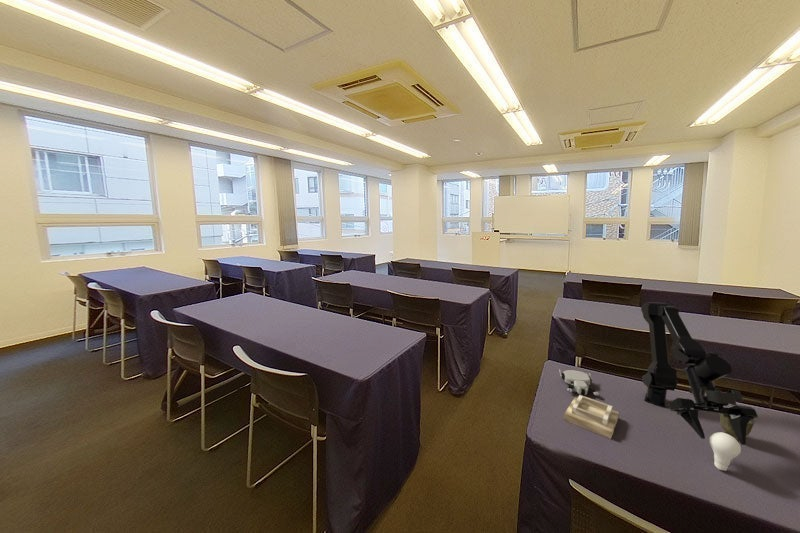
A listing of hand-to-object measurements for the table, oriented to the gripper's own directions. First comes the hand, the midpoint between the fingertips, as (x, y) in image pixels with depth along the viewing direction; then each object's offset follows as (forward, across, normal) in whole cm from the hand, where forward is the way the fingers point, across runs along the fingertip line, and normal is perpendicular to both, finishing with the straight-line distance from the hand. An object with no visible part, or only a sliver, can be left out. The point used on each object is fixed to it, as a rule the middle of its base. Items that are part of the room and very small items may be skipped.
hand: (723, 441), depth 86 cm
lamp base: (-4, -28, +16) cm, 33 cm away
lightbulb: (+6, 0, +6) cm, 9 cm away
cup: (-5, +13, +17) cm, 23 cm away
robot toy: (-20, -27, +32) cm, 46 cm away
